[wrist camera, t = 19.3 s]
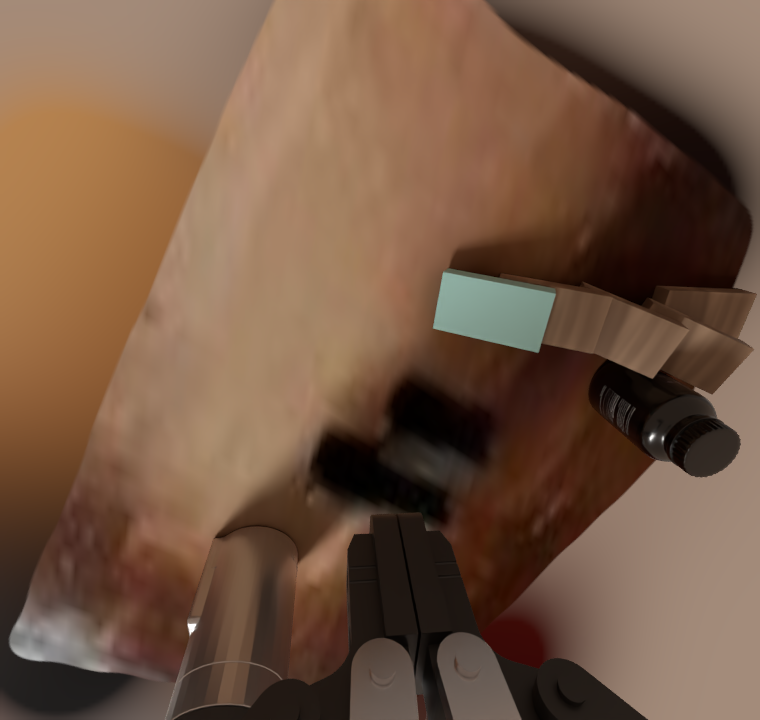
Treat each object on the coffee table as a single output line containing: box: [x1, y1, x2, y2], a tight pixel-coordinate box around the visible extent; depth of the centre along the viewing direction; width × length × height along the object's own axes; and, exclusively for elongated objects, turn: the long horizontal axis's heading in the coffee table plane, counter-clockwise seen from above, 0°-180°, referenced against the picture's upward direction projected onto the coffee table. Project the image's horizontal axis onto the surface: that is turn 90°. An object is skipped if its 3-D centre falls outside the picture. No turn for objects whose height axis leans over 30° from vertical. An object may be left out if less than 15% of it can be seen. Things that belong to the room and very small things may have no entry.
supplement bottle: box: [588, 361, 741, 477], centre depth 39 cm, size 7×7×12 cm
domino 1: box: [433, 268, 556, 353], centre depth 36 cm, size 2×5×9 cm
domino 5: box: [641, 297, 754, 394], centre depth 39 cm, size 2×5×9 cm
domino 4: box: [652, 286, 757, 339], centre depth 41 cm, size 2×5×9 cm
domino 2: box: [499, 273, 613, 354], centre depth 37 cm, size 2×5×9 cm
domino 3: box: [580, 282, 689, 379], centre depth 38 cm, size 2×5×9 cm
